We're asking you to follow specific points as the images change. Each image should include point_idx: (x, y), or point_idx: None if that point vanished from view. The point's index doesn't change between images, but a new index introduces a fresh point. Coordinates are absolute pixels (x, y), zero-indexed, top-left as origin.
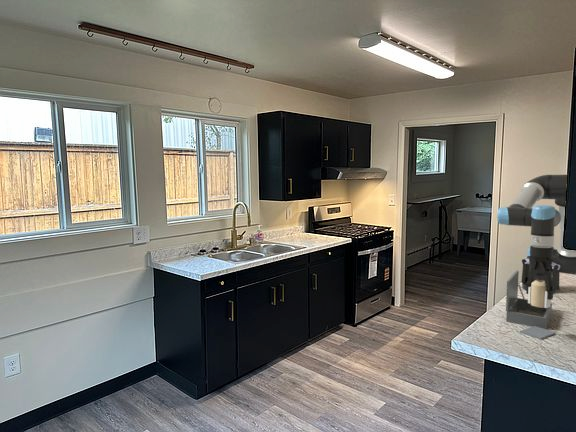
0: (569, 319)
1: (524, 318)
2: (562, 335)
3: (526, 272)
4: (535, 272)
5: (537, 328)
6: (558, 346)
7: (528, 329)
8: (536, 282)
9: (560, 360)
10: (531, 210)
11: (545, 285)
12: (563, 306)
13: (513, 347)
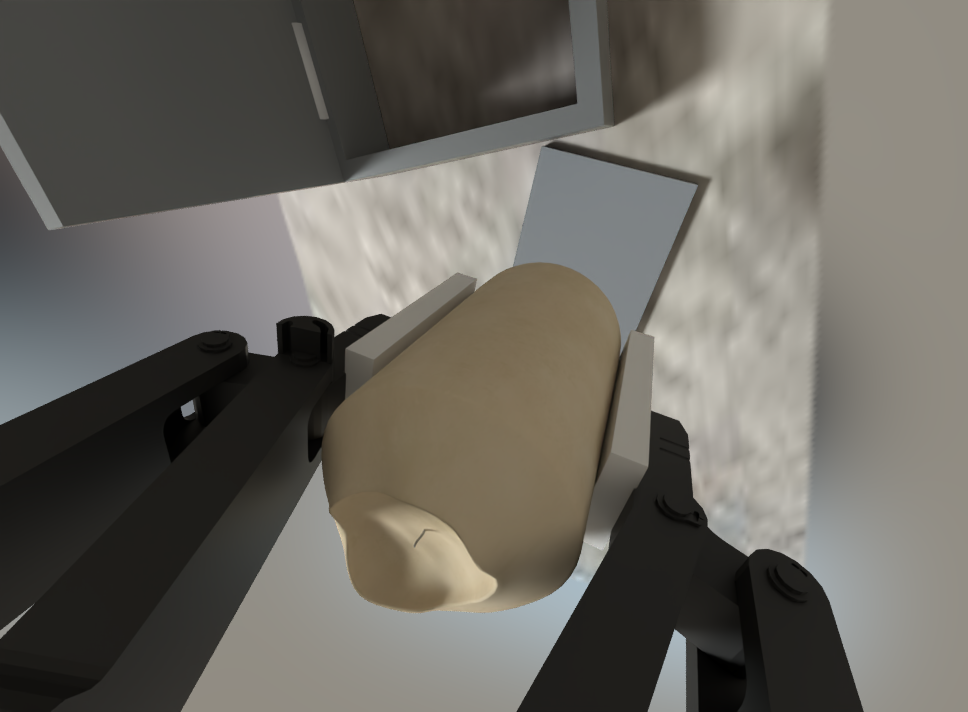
0: None
1: (459, 158)
2: (748, 176)
3: (42, 554)
4: (153, 680)
5: (570, 193)
6: (732, 397)
7: (530, 257)
8: (398, 595)
9: (751, 551)
10: None
11: (549, 589)
12: None
13: None
